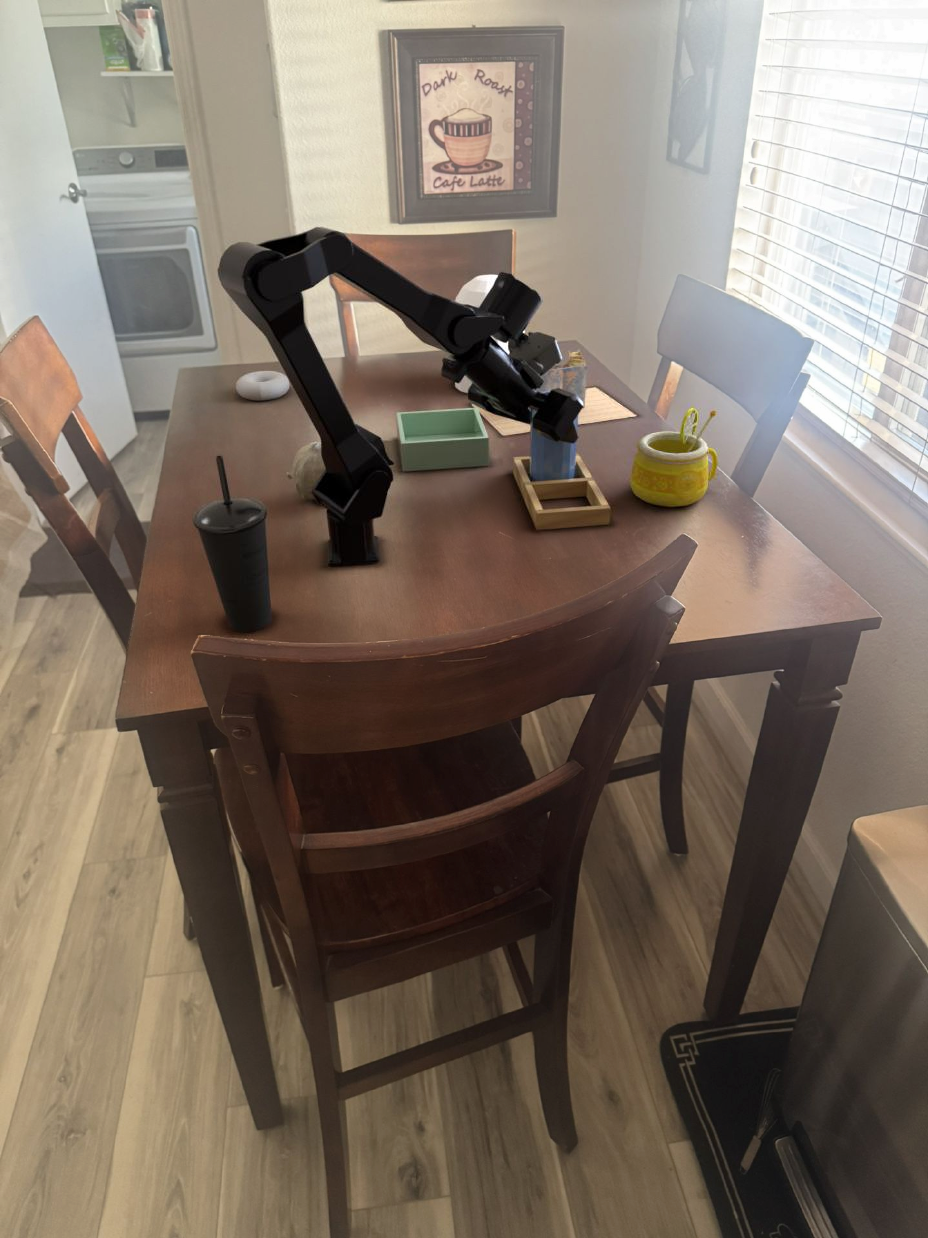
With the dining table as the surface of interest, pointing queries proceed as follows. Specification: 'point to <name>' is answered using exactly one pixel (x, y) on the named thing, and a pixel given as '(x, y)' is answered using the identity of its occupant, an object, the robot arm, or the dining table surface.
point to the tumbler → (551, 456)
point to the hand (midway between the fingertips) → (553, 430)
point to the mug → (673, 466)
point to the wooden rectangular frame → (562, 489)
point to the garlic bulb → (307, 469)
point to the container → (474, 296)
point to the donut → (262, 385)
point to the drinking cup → (237, 556)
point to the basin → (442, 439)
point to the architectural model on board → (573, 381)
